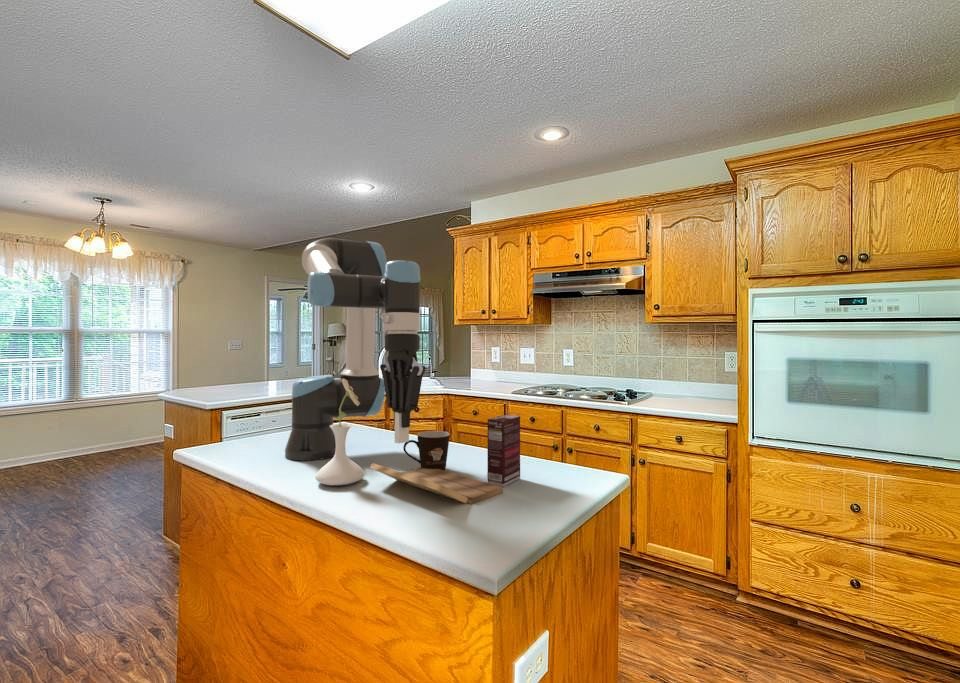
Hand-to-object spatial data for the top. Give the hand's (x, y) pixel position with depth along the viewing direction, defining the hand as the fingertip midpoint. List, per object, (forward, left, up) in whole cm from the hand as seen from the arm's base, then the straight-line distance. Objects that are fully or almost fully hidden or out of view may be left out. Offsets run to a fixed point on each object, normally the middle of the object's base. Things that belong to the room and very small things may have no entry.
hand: (401, 441), depth 102 cm
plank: (0, +4, -10) cm, 11 cm away
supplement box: (+7, +26, -13) cm, 30 cm away
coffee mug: (-14, +19, -13) cm, 27 cm away
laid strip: (0, +14, -13) cm, 19 cm away
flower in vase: (-21, -2, -13) cm, 25 cm away
